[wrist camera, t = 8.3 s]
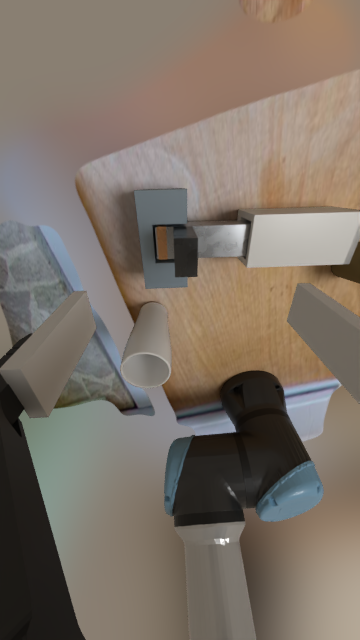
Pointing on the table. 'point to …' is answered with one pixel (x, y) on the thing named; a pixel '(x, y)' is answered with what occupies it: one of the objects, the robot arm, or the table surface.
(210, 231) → the sliding bolt
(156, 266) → the socket
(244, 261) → the sleeve
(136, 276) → the table surface
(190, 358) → the table surface
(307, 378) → the table surface
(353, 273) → the olive knob-topped post
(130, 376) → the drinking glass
